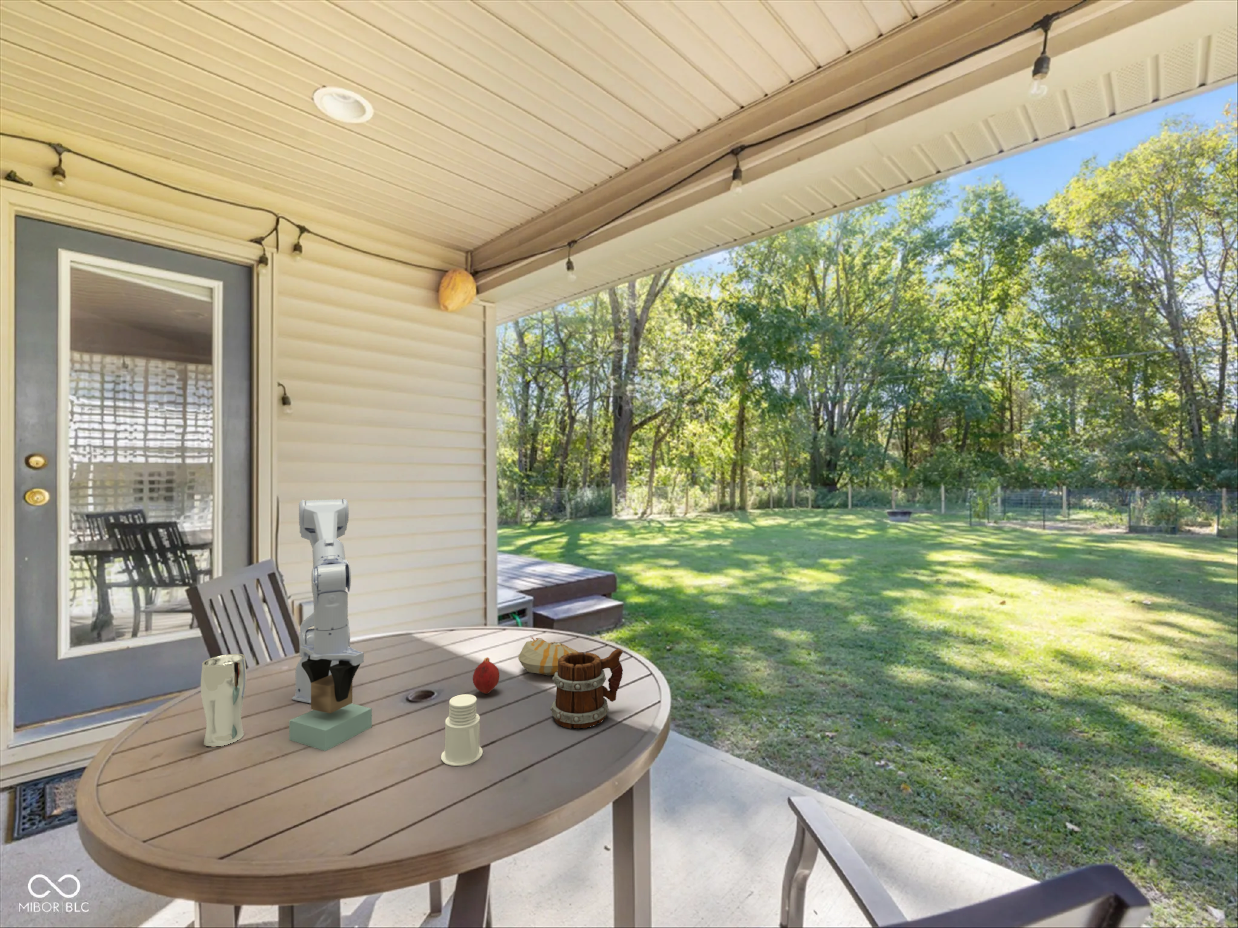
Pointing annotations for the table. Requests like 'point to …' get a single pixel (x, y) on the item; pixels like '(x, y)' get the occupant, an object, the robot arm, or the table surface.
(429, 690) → the table surface
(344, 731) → the riser block
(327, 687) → the walnut block
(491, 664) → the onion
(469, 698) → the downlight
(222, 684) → the beer glass
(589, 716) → the mug
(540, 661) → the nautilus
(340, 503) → the robot arm
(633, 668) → the table surface
